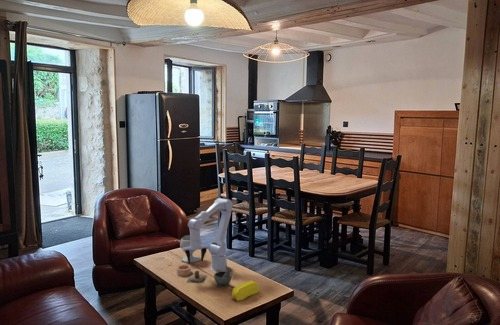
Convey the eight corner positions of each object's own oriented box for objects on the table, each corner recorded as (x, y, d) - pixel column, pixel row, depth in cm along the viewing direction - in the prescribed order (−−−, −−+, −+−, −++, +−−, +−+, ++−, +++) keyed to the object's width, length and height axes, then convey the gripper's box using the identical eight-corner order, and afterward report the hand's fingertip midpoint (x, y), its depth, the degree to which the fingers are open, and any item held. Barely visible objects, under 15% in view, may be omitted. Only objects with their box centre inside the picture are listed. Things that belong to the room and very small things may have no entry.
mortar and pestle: (210, 286, 212) (210, 266, 210) (222, 280, 219) (221, 261, 217) (225, 292, 205) (225, 271, 203) (237, 286, 212) (236, 265, 210)
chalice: (199, 263, 244) (199, 241, 242) (178, 263, 244) (177, 241, 242) (203, 255, 257) (202, 234, 256) (183, 255, 258) (182, 234, 256)
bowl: (192, 270, 233) (192, 264, 232) (188, 276, 225) (188, 270, 224) (179, 270, 234) (178, 264, 233) (175, 276, 225) (174, 269, 225)
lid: (205, 276, 224) (205, 268, 223) (202, 282, 216) (202, 274, 215) (191, 275, 225) (191, 268, 224) (187, 282, 216) (187, 274, 216)
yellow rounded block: (262, 292, 205) (253, 288, 210) (262, 281, 204) (253, 276, 209) (237, 304, 193) (227, 298, 198) (237, 291, 192) (227, 286, 197)
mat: (207, 276, 225) (207, 275, 225) (203, 284, 215) (203, 283, 215) (190, 276, 226) (190, 275, 226) (186, 283, 216) (186, 282, 216)
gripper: (205, 235, 226) (206, 257, 228) (181, 238, 221) (182, 260, 223) (208, 239, 219) (209, 262, 221) (183, 242, 214) (184, 265, 216)
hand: (195, 261), depth 221 cm, fingers open, 7 cm apart
